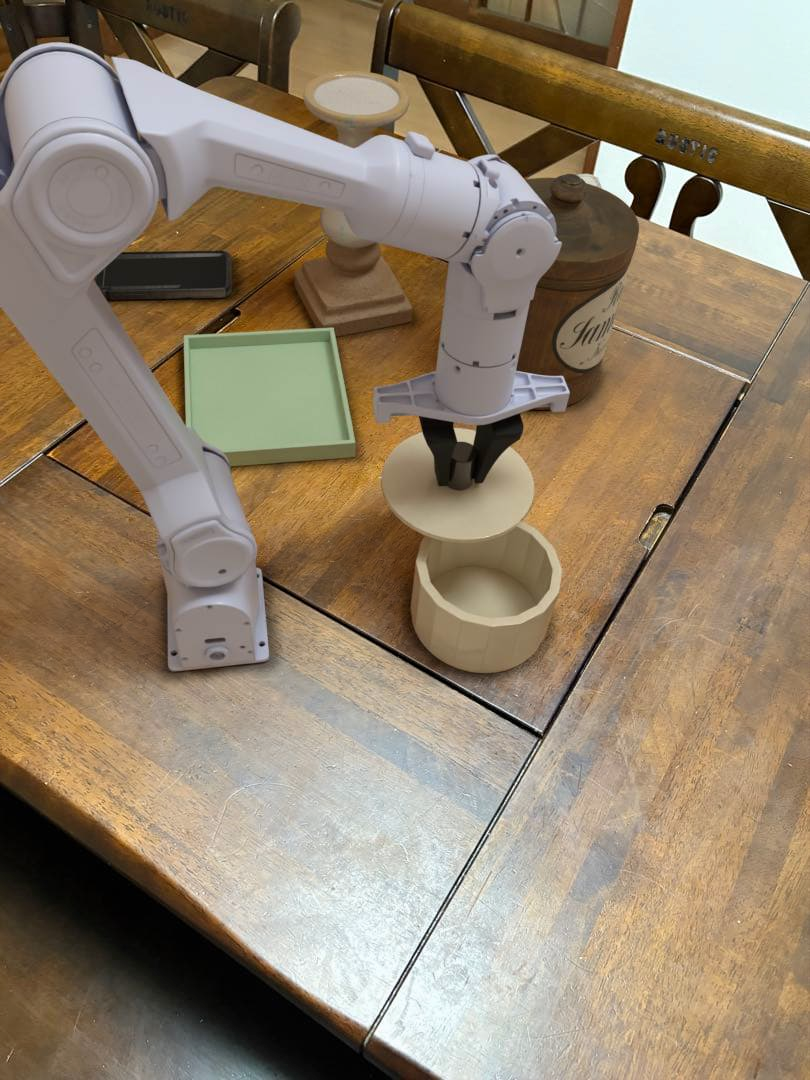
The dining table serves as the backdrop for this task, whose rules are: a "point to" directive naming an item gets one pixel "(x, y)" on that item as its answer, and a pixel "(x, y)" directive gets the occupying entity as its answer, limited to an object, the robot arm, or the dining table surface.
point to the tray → (268, 395)
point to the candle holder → (352, 263)
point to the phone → (167, 275)
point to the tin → (485, 598)
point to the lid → (456, 491)
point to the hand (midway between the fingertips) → (459, 475)
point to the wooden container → (578, 283)
